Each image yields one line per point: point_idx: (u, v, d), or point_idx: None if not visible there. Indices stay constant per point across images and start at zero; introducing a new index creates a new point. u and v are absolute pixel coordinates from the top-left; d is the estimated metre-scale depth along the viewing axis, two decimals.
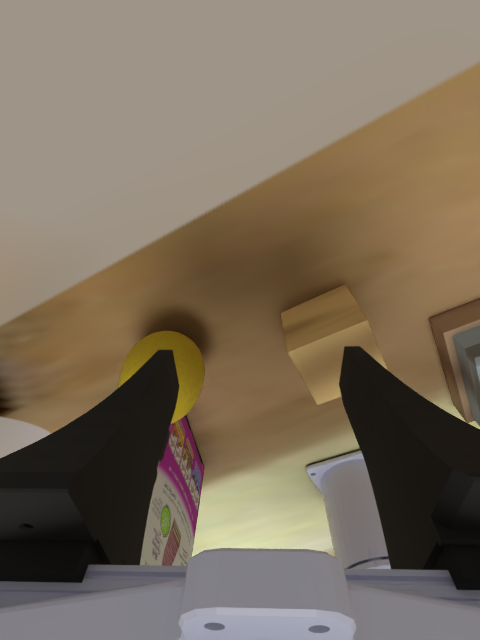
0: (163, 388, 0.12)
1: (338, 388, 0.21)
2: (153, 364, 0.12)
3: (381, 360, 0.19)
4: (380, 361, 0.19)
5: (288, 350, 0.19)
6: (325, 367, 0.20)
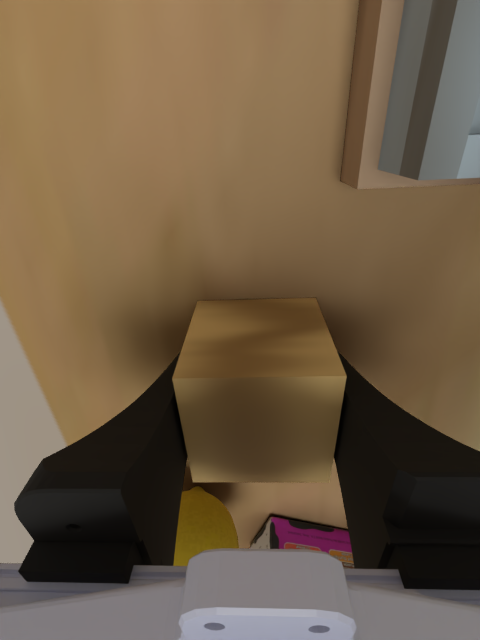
0: None
1: (311, 451, 0.11)
2: None
3: (283, 380, 0.09)
4: (285, 381, 0.09)
5: None
6: (249, 453, 0.11)
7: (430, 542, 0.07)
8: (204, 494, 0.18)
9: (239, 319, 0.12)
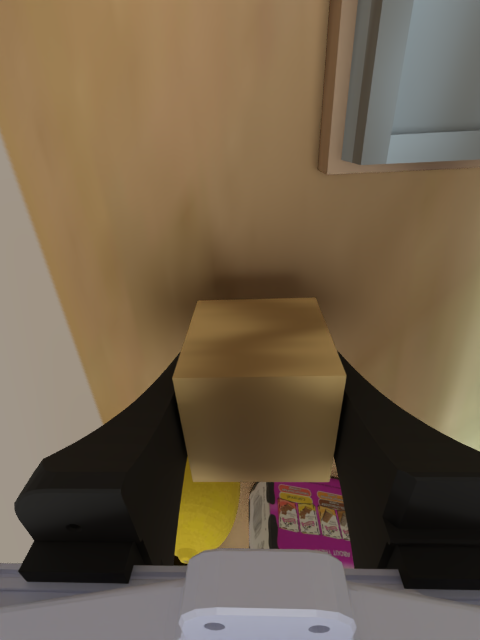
0: None
1: (311, 450, 0.11)
2: None
3: (283, 380, 0.09)
4: (285, 381, 0.09)
5: None
6: (249, 453, 0.11)
7: (430, 542, 0.07)
8: None
9: (239, 319, 0.12)
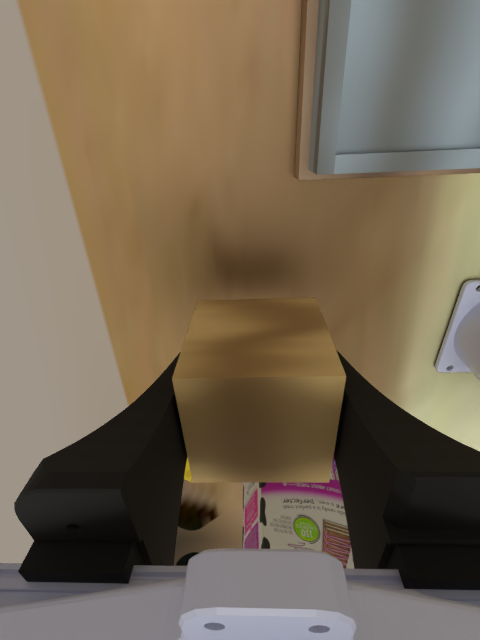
0: None
1: (311, 451, 0.11)
2: None
3: (282, 380, 0.09)
4: (285, 381, 0.09)
5: None
6: (249, 453, 0.11)
7: (430, 542, 0.07)
8: None
9: (239, 319, 0.12)
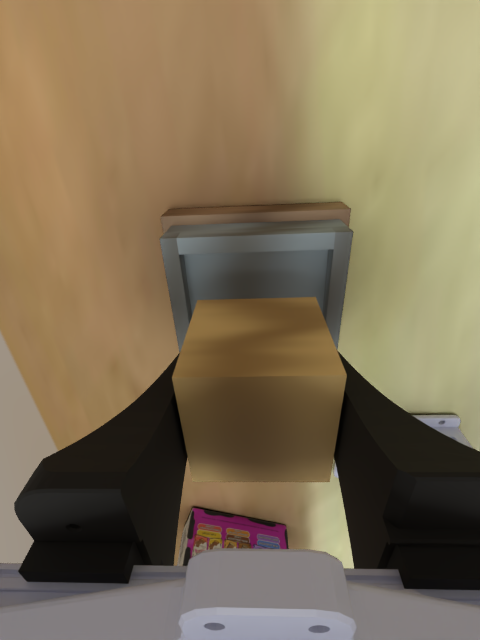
0: None
1: (311, 450, 0.11)
2: None
3: (283, 379, 0.09)
4: (285, 380, 0.09)
5: None
6: (249, 453, 0.11)
7: (430, 542, 0.07)
8: None
9: (239, 318, 0.12)
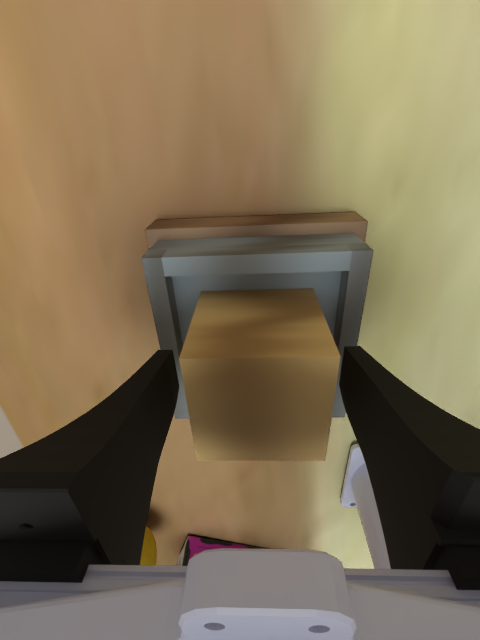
0: (163, 388, 0.12)
1: (308, 429, 0.11)
2: (153, 364, 0.12)
3: (281, 360, 0.10)
4: (284, 362, 0.10)
5: None
6: (250, 432, 0.11)
7: None
8: None
9: (241, 307, 0.13)
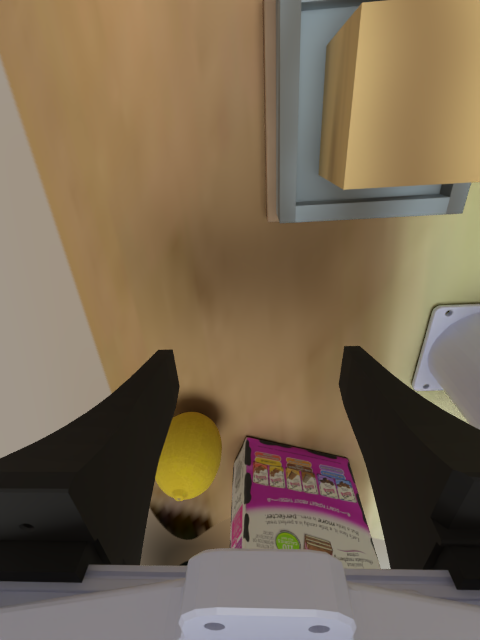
0: (163, 388, 0.12)
1: (479, 125, 0.10)
2: (153, 364, 0.12)
3: None
4: (479, 0, 0.09)
5: (342, 186, 0.12)
6: (413, 134, 0.11)
7: None
8: (199, 413, 0.28)
9: None
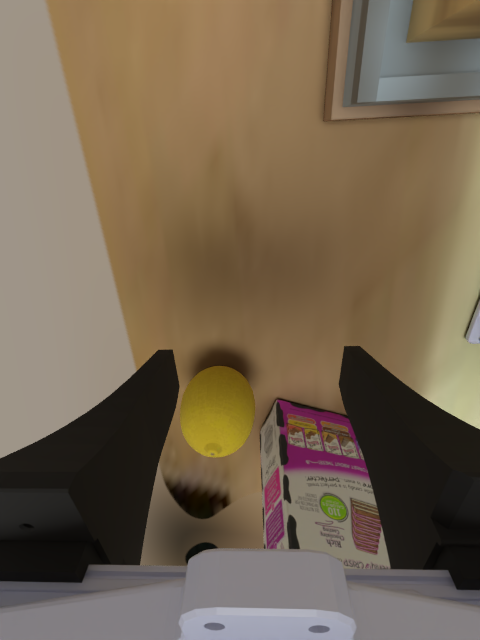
0: (163, 388, 0.12)
1: None
2: (153, 364, 0.12)
3: None
4: None
5: None
6: None
7: None
8: (229, 367, 0.25)
9: None
